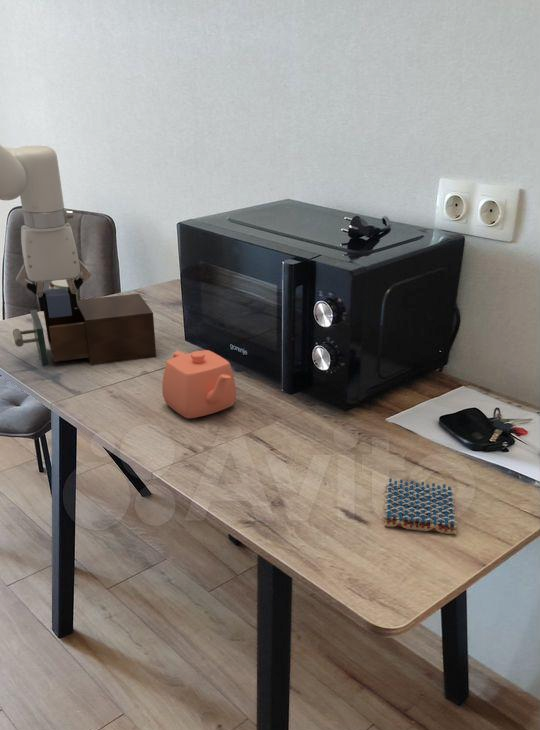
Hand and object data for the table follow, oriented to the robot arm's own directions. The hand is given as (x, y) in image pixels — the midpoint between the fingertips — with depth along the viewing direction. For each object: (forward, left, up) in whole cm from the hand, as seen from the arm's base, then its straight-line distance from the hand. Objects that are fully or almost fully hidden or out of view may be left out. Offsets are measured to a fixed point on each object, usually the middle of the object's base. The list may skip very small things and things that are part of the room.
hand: (59, 311), depth 142 cm
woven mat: (+40, -74, -10) cm, 85 cm away
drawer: (-1, 0, -9) cm, 9 cm away
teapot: (+20, -32, -10) cm, 39 cm away
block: (0, 0, 0) cm, 0 cm away
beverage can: (+2, +13, -10) cm, 16 cm away
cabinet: (+11, 0, -10) cm, 15 cm away
